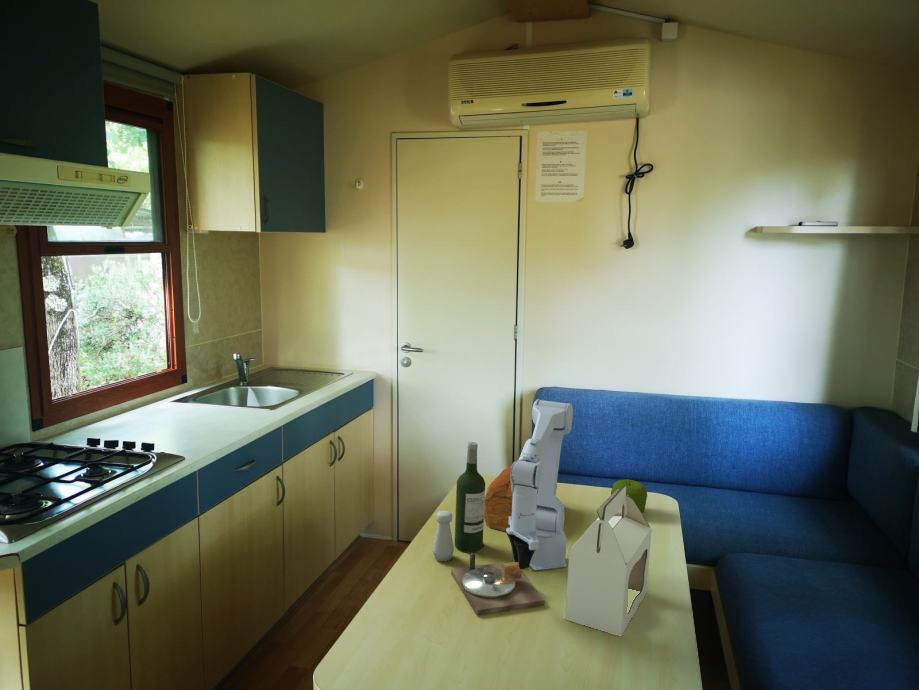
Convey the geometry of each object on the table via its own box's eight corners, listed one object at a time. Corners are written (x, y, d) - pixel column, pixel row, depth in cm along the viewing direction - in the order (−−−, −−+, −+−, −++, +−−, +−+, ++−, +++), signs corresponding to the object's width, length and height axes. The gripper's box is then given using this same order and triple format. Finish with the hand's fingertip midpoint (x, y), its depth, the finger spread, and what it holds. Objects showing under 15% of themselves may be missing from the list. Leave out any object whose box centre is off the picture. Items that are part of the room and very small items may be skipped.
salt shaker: (450, 564, 185) (452, 518, 182) (429, 561, 186) (431, 515, 183) (455, 554, 190) (457, 509, 188) (435, 551, 191) (436, 507, 189)
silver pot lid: (472, 601, 164) (473, 583, 163) (455, 574, 176) (456, 557, 175) (530, 593, 168) (531, 575, 167) (509, 567, 180) (510, 551, 180)
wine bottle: (471, 555, 190) (475, 449, 185) (448, 546, 195) (452, 443, 189) (488, 545, 196) (492, 443, 191) (465, 537, 201) (469, 437, 196)
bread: (477, 525, 209) (479, 475, 207) (512, 496, 233) (515, 451, 230) (527, 538, 202) (530, 486, 199) (559, 507, 225) (562, 460, 223)
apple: (608, 516, 219) (610, 483, 217) (611, 504, 229) (613, 472, 227) (644, 522, 216) (647, 488, 214) (646, 509, 226) (648, 477, 224)
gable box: (595, 579, 179) (602, 475, 175) (646, 594, 173) (655, 486, 168) (564, 620, 160) (571, 505, 156) (620, 638, 154) (630, 518, 149)
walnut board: (512, 566, 185) (513, 545, 184) (544, 605, 166) (545, 582, 165) (451, 574, 179) (451, 552, 178) (477, 616, 161) (478, 591, 160)
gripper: (497, 500, 169) (495, 552, 172) (519, 525, 156) (516, 581, 158) (524, 498, 171) (522, 549, 174) (548, 522, 158) (545, 578, 160)
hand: (521, 564), depth 166 cm, fingers open, 3 cm apart
